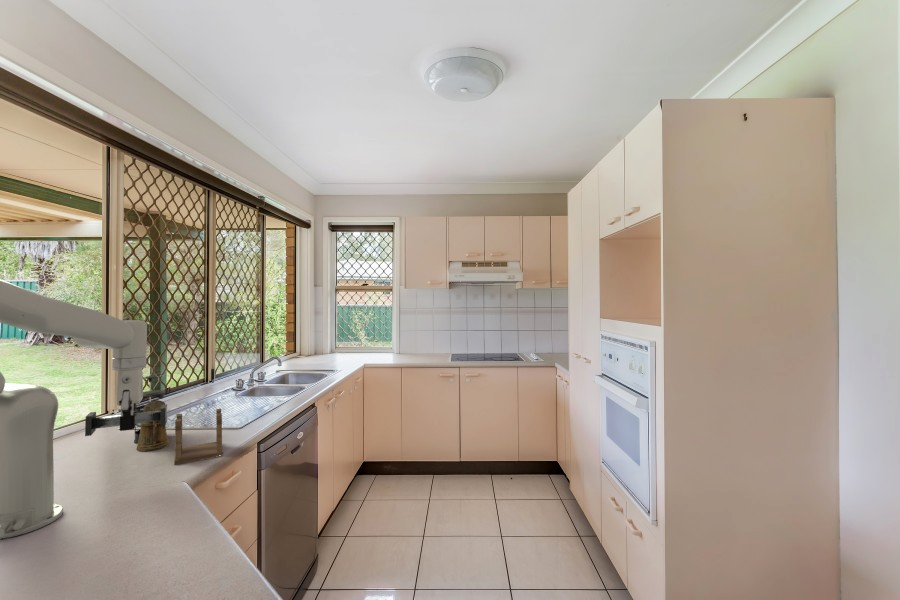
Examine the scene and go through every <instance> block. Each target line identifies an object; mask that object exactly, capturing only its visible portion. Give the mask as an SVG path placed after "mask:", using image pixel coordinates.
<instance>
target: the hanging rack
mask: <svg viewBox="0 0 900 600" xmlns="http://www.w3.org/2000/svg"><path fill="white" fill-rule="evenodd" d="M215 412H216V413H215V415H216V416H215V417H216V422H215V423H216V426H215V429H216V438H215V439H216V441H213V442H212V441H211V442H206V443H201V444H195V445H189V446H183V413H177V414H176V419H175V423H174V424H175V425H174V427H175V428H174V429H175V430H174V431H175V433H174V435H175V436H174V438H175V439H174V443H175V444H174V445H175V446H174V447H175V449H174V451H175V455H174V461H173V463H174V466H175V465H176V466H177V465H181V464H185V463H192V462H191V461H193V462H197V461H196V460H198V461H201V459H203V460H208V458H209V459H213V458H212V457H214V458H217V457H216V456H219V455H224V451H223V413H222V408H216V410H215ZM219 457H220V456H219Z"/></svg>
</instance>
